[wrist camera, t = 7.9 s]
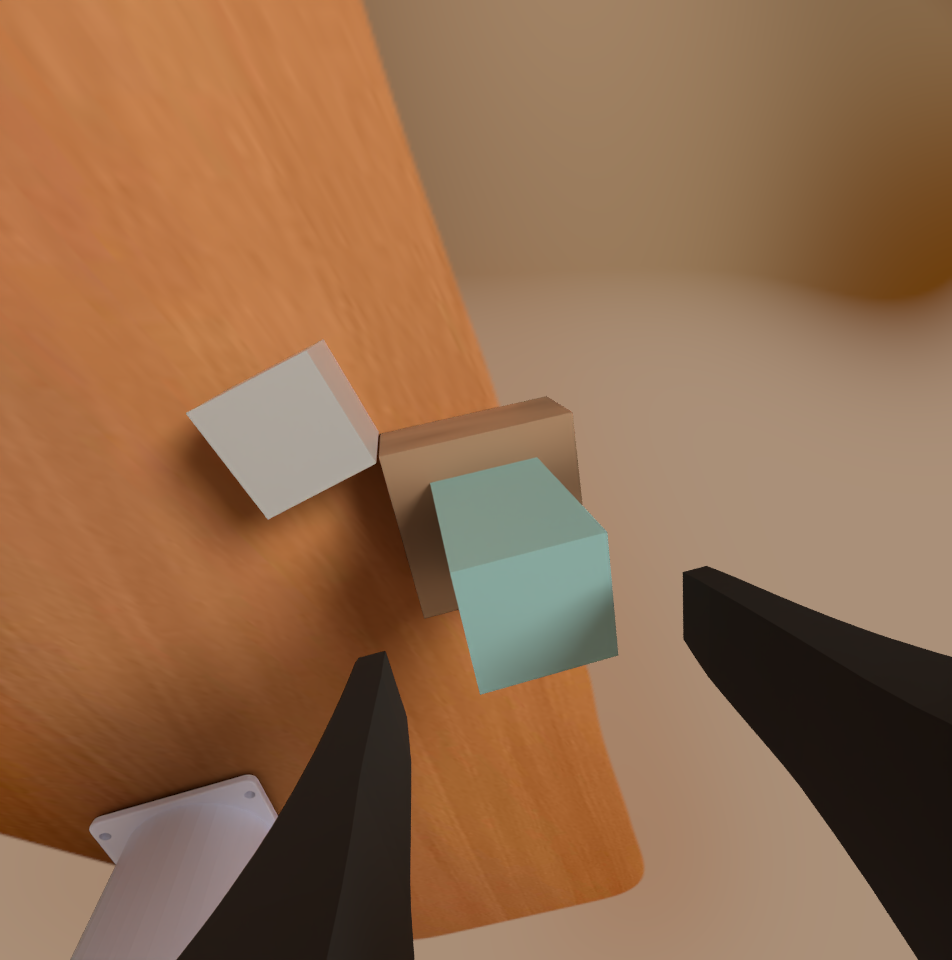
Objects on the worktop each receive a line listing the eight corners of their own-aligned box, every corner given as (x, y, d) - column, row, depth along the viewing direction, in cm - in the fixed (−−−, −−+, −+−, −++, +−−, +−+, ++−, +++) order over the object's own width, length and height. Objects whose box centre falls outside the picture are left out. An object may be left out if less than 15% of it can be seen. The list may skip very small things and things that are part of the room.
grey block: (378, 430, 19) (376, 463, 15) (291, 476, 19) (268, 519, 15) (323, 338, 17) (306, 350, 14) (228, 388, 17) (185, 413, 14)
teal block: (550, 550, 19) (618, 655, 13) (452, 575, 18) (480, 694, 13) (537, 457, 17) (607, 532, 12) (430, 483, 17) (450, 572, 11)
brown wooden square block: (565, 540, 22) (590, 574, 19) (420, 577, 22) (424, 618, 19) (546, 396, 20) (572, 412, 17) (380, 433, 19) (378, 457, 16)
